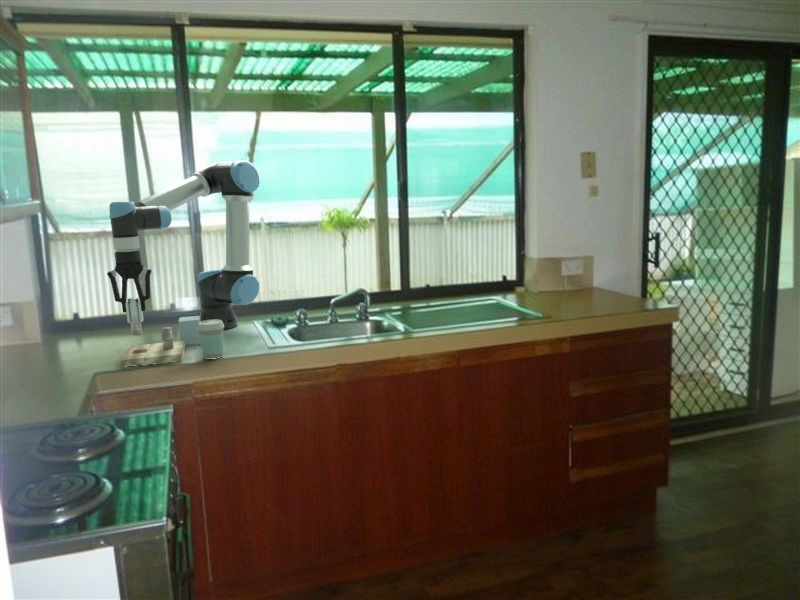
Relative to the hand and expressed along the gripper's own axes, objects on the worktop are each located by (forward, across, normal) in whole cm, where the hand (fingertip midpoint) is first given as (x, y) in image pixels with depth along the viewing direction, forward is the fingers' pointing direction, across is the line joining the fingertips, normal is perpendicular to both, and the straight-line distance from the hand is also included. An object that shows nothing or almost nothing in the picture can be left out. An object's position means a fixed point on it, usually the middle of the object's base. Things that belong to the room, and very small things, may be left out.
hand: (135, 321), depth 198 cm
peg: (+4, 0, 0) cm, 4 cm away
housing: (+13, -16, -15) cm, 25 cm away
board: (+13, -5, 0) cm, 14 cm away
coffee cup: (+13, -24, +8) cm, 28 cm away
